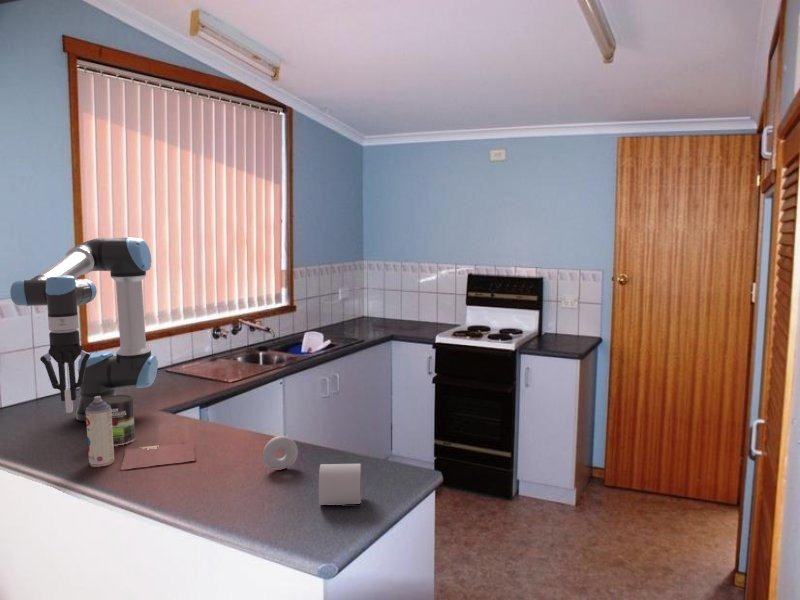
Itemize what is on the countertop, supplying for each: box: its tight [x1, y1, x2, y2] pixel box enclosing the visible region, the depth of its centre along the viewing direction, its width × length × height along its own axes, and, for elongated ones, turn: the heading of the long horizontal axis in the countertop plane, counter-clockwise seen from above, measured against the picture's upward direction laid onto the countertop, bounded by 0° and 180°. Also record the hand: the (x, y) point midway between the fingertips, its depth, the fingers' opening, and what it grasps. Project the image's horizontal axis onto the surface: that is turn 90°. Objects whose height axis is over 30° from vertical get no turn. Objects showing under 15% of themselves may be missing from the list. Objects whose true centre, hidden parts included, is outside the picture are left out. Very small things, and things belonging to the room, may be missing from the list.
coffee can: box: [101, 394, 136, 445], centre depth 210 cm, size 10×10×14 cm
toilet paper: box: [318, 463, 362, 506], centre depth 163 cm, size 10×10×10 cm
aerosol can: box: [85, 396, 115, 464], centre depth 190 cm, size 7×7×20 cm
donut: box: [262, 435, 299, 468], centre depth 185 cm, size 10×4×10 cm, turn 116°
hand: (69, 411), depth 187 cm, fingers closed
